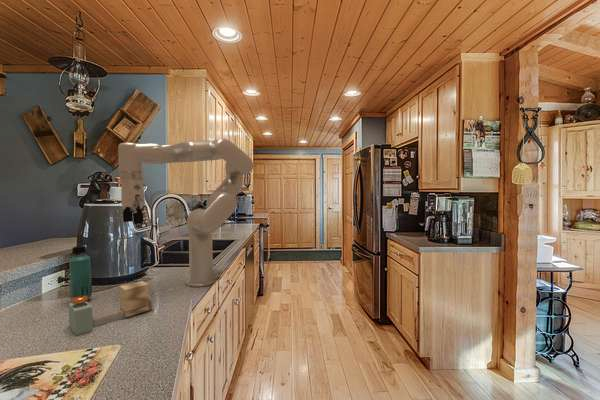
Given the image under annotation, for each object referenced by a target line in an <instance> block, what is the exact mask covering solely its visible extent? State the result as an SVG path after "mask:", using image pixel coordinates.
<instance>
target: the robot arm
mask: <svg viewBox="0 0 600 400" xmlns="http://www.w3.org/2000/svg"><path fill="white" fill-rule="evenodd" d="M117 148H118V149H117V150H118V151H117V152H118V174H119V175H118V177H119V181H121V187H120V188H121V189H120V190H121V192H120V193H121V195H120V196H121V198H120V199H121V207H122V221H123V223H127V222H128V223H129V222H133V224H134V225H139V224H144V208H145V206H146V201H145V189H144V184H143V180H144V178H143V163H144V164H145V165H150V166H151V165H161V164H171V163H172V164H173V163H175V164H176V163H194V162H206V161H218V160H224V161H225V166H224V169H225V170H224V171H225V178H224V179H223V181H222V182H221V184H220V185H219V186H218V187H217V188H216V189H215V190H213V192H212V193H211V194H210V195H208V197H207V199H206V203H205V204H206V207H207V208H195V209H193V210H191V212H190V213H188V215H187V219H186V228H187V233H188V259H189V260H188V263H189V264H188V265H189V277H188V278H187V279H186V280H185V284H186V286H188V287H195V288H196V287H197V288H198V287H207V286H210V285H213V284H215V283H216V282H217V277H216V276H217V275H222V274H223V269H218V270H217V269H213V267H214V264H213V263H214V261H213V257H214V256H213V235H212V234H213V233H215V232H217V231H218V230H219V229H220V228H221V227H222V225H223V224H225V222H226V221H227V220H228V219H229V218H230V216H232V215H233V213H234V212H235V210H236V208H237V205H238V201H237V195H239V193H240V191H242V188H243V185H244V184H243V183H244V178H243V177H244V176H246V175H248V174H250V173H252V171H253V169H254V162H253V160H252V159H251V157H250V156H249V155H248V154H247V153H246V152H244V151H243V150H242V149H241V148H239V147H238V146H237V144H235V143H234V142H232V141H231V140H229V139H227V138H223V137H222V138H218V139H212V140H211V139H209V140H188V141H181V142H177V143H174V144H164V145H161V144H159V143H154V142H152V143H136V142H121V143H119V144H118V147H117Z"/></svg>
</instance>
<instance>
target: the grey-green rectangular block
mask: <svg viewBox="0 0 600 400" xmlns="http://www.w3.org/2000/svg"><path fill="white" fill-rule="evenodd" d="M93 317H94V316H93V306H92V305H91V304H90V303H89V302H88V301H87V302H85V306H81V307H77V308H75V304H72V302H69V303H68V324H69V325H68V326H69V328H70V330H71V331H72V332H73V334H74V335H75V337H76V336H77V337H78V336H80V335H83V334H87V333H89V332H92V331H94V325H93Z"/></svg>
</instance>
